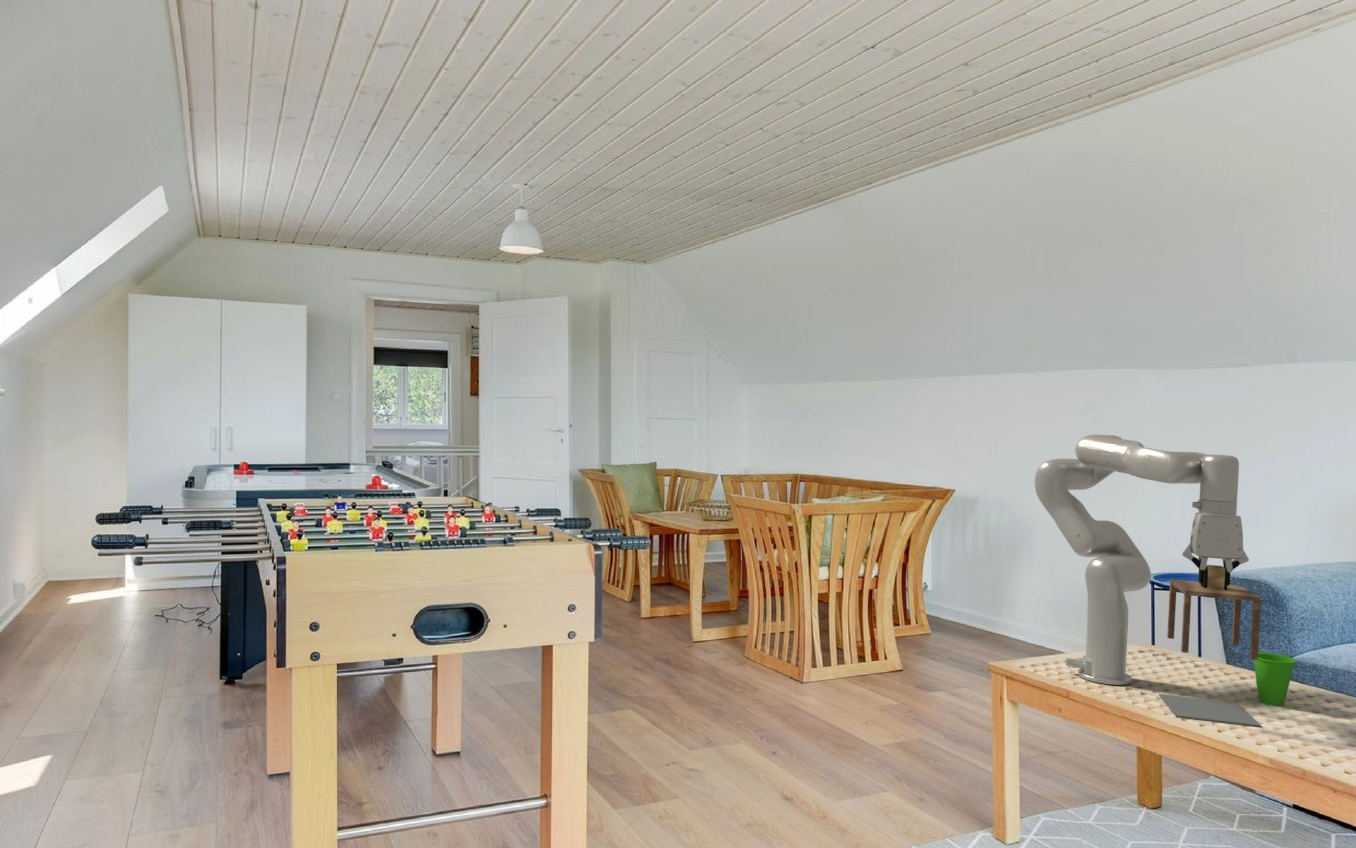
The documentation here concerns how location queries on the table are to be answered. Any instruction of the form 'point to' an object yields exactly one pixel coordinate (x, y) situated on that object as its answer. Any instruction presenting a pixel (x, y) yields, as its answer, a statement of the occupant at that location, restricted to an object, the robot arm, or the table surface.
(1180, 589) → the cover
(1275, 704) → the cup
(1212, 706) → the mat
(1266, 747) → the table surface
